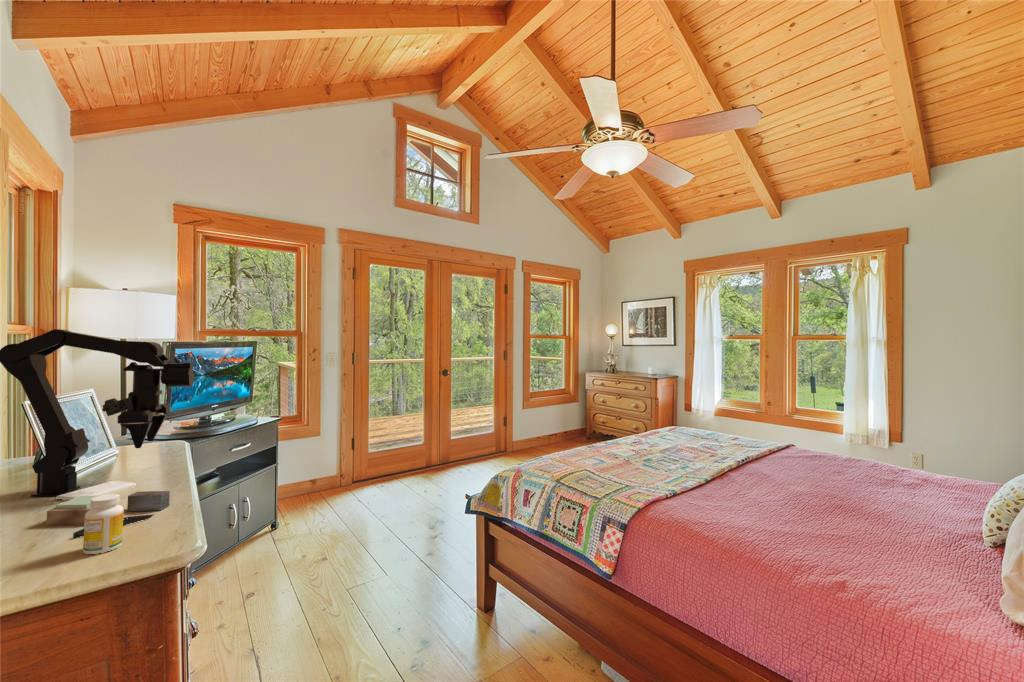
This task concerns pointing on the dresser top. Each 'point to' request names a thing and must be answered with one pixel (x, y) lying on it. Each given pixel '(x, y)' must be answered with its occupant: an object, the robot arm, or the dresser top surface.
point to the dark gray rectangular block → (148, 500)
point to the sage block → (76, 503)
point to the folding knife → (126, 521)
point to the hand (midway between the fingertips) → (144, 444)
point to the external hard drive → (98, 490)
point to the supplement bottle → (103, 524)
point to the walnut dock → (66, 516)
